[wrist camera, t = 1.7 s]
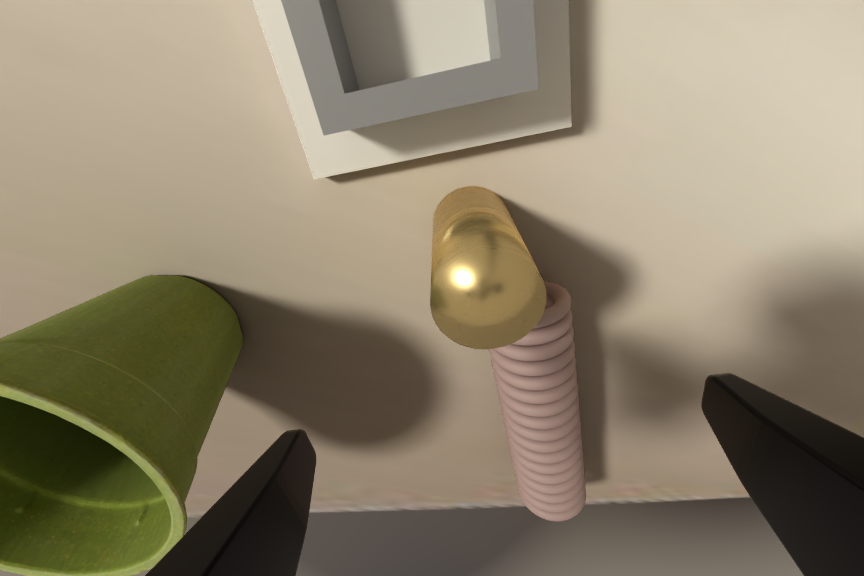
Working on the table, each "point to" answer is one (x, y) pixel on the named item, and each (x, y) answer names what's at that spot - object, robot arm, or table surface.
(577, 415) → the coil
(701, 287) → the table surface
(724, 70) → the table surface
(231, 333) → the plant pot
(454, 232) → the cylinder
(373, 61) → the fitting board
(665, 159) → the table surface
